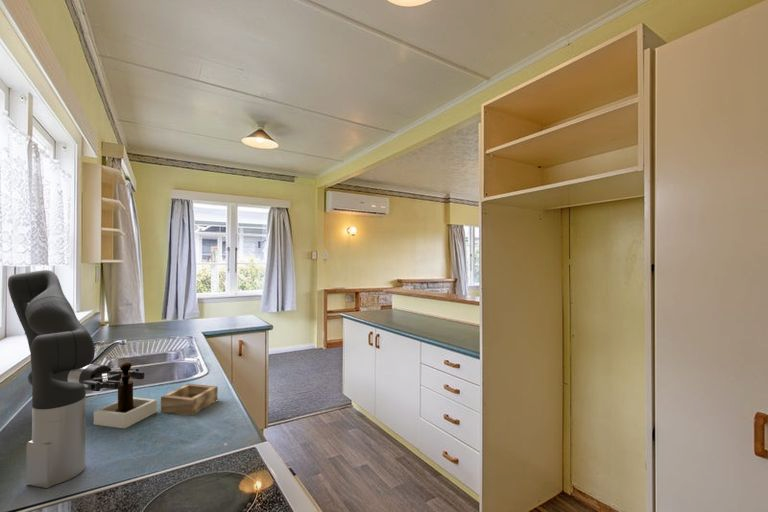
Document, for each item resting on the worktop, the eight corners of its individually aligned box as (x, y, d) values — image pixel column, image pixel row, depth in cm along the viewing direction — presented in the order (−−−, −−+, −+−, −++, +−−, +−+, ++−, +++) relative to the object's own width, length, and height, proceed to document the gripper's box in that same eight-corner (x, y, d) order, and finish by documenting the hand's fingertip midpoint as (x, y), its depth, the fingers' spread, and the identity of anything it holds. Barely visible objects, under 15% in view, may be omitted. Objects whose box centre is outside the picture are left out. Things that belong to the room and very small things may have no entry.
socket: (192, 415, 113) (192, 400, 113) (160, 411, 116) (161, 396, 116) (217, 400, 125) (217, 386, 125) (188, 397, 128) (188, 383, 128)
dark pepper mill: (115, 415, 113) (115, 359, 113) (139, 411, 116) (140, 357, 116) (109, 424, 107) (110, 365, 107) (135, 420, 110) (135, 362, 110)
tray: (124, 428, 105) (124, 415, 105) (93, 424, 107) (93, 411, 107) (156, 411, 116) (156, 399, 116) (128, 408, 118) (128, 396, 118)
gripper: (66, 371, 107) (109, 376, 104) (111, 358, 121) (151, 361, 118) (66, 396, 107) (109, 401, 104) (111, 380, 121) (150, 384, 118)
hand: (131, 380), depth 111 cm, fingers open, 8 cm apart
